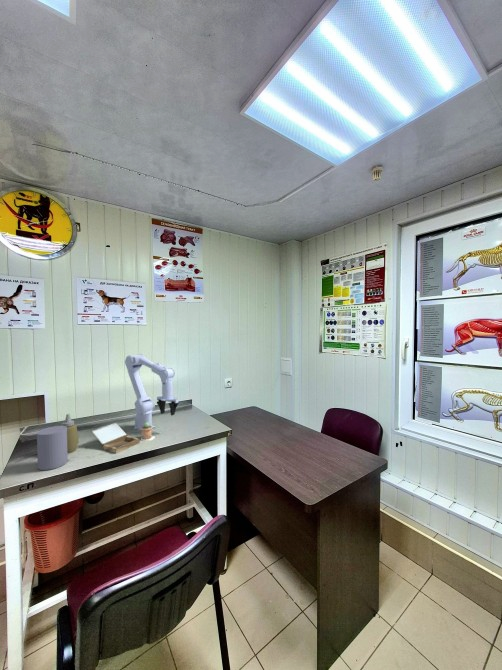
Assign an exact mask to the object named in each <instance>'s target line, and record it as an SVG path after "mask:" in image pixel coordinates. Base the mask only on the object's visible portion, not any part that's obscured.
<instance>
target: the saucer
mask: <svg viewBox="0 0 502 670" xmlns="http://www.w3.org/2000/svg"><path fill="white" fill-rule="evenodd" d="M155 437H156V436H155V435H152V437H151V438H150V439H146V440H144V439H142V437H141V438H140V441H142V442H149V441H152V440H154V439H155Z"/></svg>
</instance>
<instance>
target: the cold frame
mask: <svg viewBox="0 0 502 670" xmlns="http://www.w3.org/2000/svg"><path fill="white" fill-rule="evenodd" d="M121 429H122V430H123V431H124V432H125V429H124V428H121ZM140 441H141V438H137V437H134V436H130V435H129V434H127V433H126V435H124V436H121V437H119V438H116V439H114V440H111V441H109V442H106V443H104V444H103V445H102V450H104V451H107V452H111V453H114V454H118V453H120V452H123V451H125V450H128V449H129V448H132V447H134V446H136V445H138V444H140V443H141V442H140Z"/></svg>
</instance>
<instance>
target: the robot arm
mask: <svg viewBox="0 0 502 670" xmlns="http://www.w3.org/2000/svg"><path fill="white" fill-rule="evenodd" d="M124 364H125V366H126V369H127V373H128V377H129V379H130V382H131V385H132V387H133V391H134V394H135V396H136V397H135V398H136V400H135V402H134V406H135V412H136V414H135V416H134V427H133V429H134V430H138V431H142V430H141V428H142V427H144V424H145V423H146V422H148V423H149V424H150V426H152V429H153V428H155V427H156V425H153V418H152V417H153V414H152V413H153V411H154V409H155V407H156V406H155V403H154V401H153V400H152V397H151V396H149V395H147V392H146V389H145V387H144V385H143V381H142V378H141V375H140V373H139V371H140V369H141V368H142V367H143V366H145V367H148V368H149V369H150V370H151V372H152V373H154V374H156V375H157V376H159V378H160V381H161V395H160V396H156V404H157V405H158V408H159V411H160V412H159V413H160V414H164V413H165V412H166V403H168V407H169V410H170V416H171V417H172V416H175V414H176V410H177V407H178V405H179V402H180V401H179V398H176V397H174V396H173V395H174V394H173V393H174V391H173V387H174V386H173V385H174V384H173V383H174V382H173V380H174V379H173V378H174V377H175V370H174V369H173V368H172V367H169V368H168V367H167V366H164V365H163V364H161V363H160V362H153V361H152V360H150V359H149V358H147V357H146V356H145V355H144V354H142V353H141V354H134V355H131V354H130V355H127V356H126V357H125V360H124ZM165 414H166V413H165Z"/></svg>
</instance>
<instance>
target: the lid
mask: <svg viewBox="0 0 502 670" xmlns="http://www.w3.org/2000/svg"><path fill="white" fill-rule="evenodd" d="M122 429H123V428H121V426H119V424H118V423H117V422H113V423H110V424H108V425H104V426H101V427H98V428H95V429H92V430H91V433H92V434H93V435H94V437H96V439H97V440H98V441H99V442H100V444H101V445H102V446H103V444H104V443H106V442H109V441H111V440H114V439H116V438H119V437H121V436H124V435H126V434H127V433H126V432H125V430H124V431H123V430H122Z"/></svg>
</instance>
